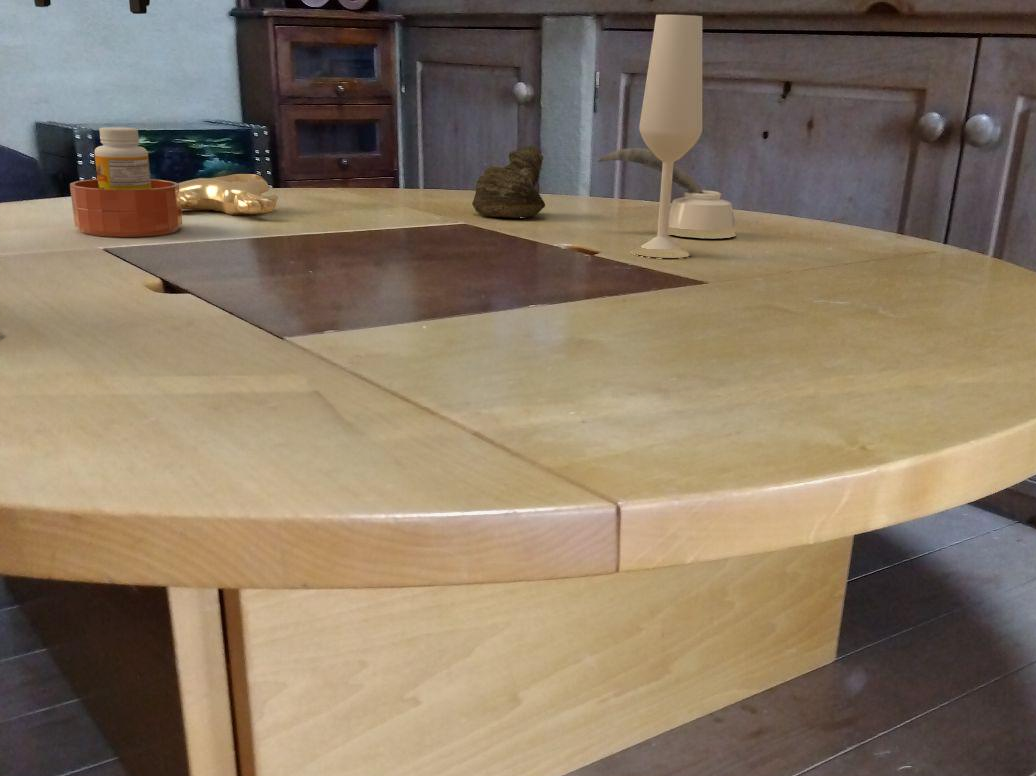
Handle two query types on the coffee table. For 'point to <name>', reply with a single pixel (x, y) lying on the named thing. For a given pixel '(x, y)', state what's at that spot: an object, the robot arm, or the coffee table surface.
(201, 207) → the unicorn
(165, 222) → the bowl
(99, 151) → the supplement bottle
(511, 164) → the brown irregular lump
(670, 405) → the coffee table surface
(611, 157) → the inkwell
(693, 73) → the champagne flute
